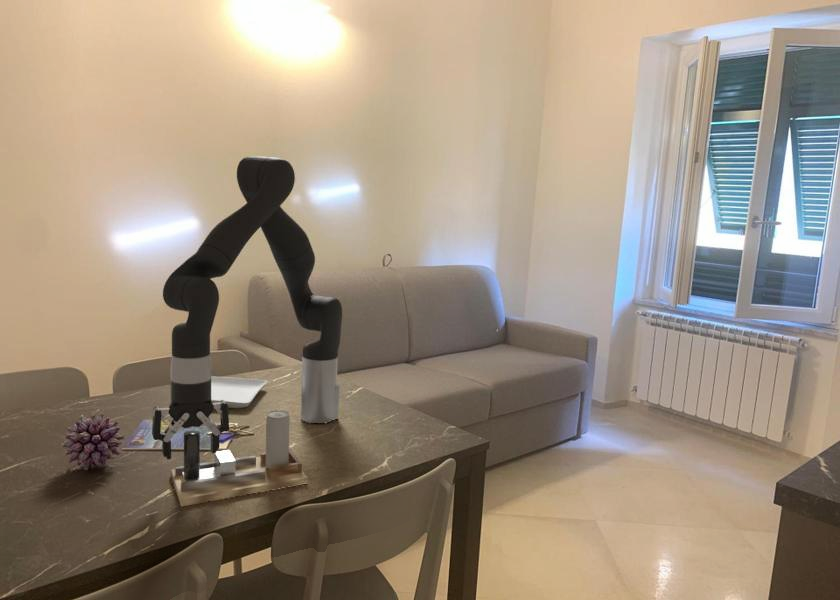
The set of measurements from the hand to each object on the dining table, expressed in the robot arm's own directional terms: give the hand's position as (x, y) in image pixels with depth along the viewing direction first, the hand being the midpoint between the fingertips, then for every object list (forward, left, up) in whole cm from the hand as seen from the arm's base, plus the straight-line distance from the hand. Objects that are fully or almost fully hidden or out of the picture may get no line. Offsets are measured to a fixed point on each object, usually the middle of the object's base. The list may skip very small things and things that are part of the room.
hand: (191, 454), depth 128 cm
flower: (+17, -17, -7) cm, 25 cm away
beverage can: (-18, 0, -6) cm, 18 cm away
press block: (-3, 0, -5) cm, 6 cm away
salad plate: (-17, -54, -8) cm, 57 cm away
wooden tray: (-10, 0, -7) cm, 12 cm away
